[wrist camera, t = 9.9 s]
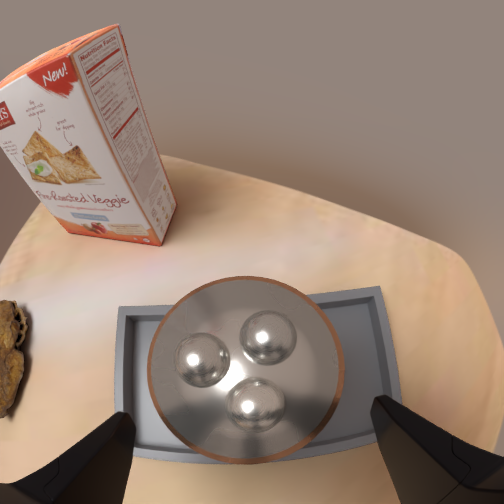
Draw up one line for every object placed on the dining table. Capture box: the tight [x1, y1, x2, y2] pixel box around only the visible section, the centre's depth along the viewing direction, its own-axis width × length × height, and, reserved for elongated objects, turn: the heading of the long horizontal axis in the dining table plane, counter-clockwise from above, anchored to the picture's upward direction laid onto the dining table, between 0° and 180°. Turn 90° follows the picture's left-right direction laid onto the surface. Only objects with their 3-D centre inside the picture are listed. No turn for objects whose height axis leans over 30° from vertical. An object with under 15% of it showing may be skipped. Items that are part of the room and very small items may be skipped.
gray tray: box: [114, 286, 402, 464], centre depth 19 cm, size 13×22×2 cm, turn 94°
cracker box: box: [0, 24, 177, 246], centre depth 20 cm, size 14×6×21 cm, turn 80°
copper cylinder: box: [147, 276, 345, 464], centre depth 13 cm, size 6×6×14 cm
